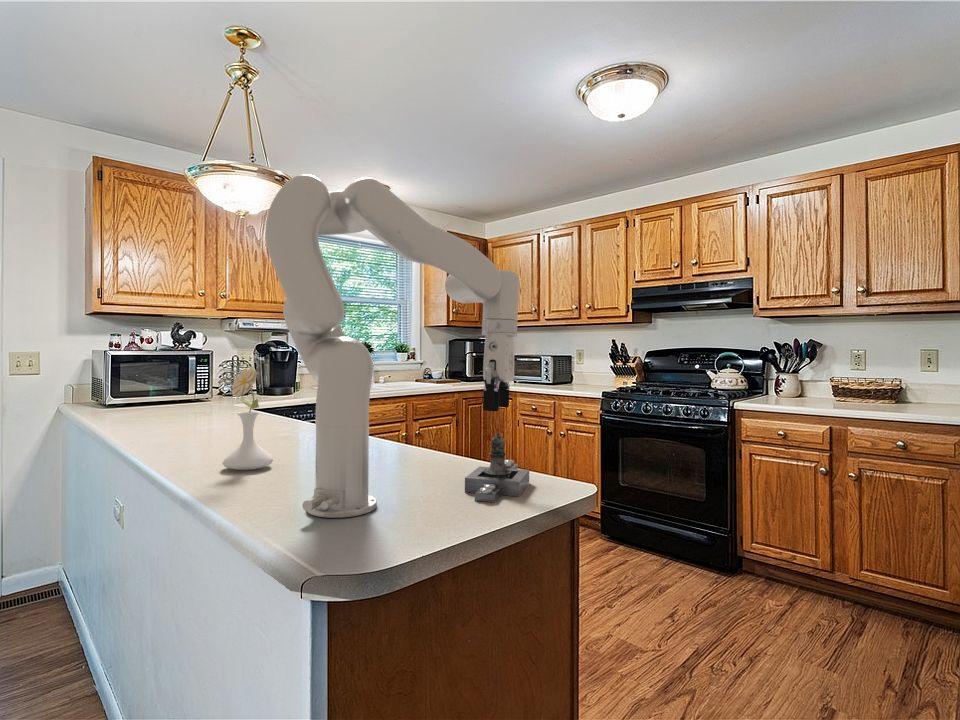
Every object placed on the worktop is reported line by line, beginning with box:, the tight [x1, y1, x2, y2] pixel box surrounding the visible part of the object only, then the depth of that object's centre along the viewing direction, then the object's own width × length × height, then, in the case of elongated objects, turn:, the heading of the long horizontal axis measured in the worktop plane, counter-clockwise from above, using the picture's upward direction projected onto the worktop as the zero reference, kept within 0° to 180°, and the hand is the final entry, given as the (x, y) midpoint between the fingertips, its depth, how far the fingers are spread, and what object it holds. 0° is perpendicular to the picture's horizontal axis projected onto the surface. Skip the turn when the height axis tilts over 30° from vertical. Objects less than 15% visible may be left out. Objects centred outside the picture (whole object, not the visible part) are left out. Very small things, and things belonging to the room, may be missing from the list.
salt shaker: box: [484, 432, 511, 479], centre depth 115 cm, size 6×6×12 cm
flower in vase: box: [222, 366, 274, 471], centre depth 130 cm, size 13×11×25 cm
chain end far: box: [464, 459, 530, 489], centre depth 118 cm, size 17×12×4 cm, turn 165°
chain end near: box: [464, 476, 530, 503], centre depth 112 cm, size 17×12×2 cm, turn 165°
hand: (496, 408), depth 114 cm, fingers open, 9 cm apart
